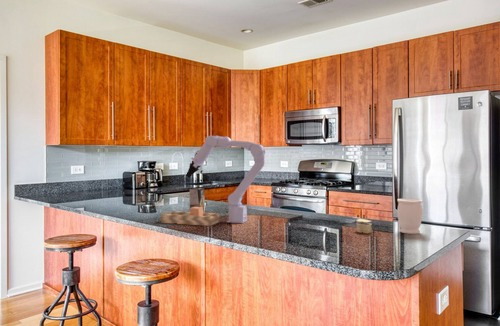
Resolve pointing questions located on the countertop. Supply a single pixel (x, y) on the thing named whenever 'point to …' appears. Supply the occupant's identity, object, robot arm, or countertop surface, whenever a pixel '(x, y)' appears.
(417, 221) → the jar
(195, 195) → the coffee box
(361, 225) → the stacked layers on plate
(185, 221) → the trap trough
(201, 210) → the terracotta block
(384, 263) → the countertop surface
